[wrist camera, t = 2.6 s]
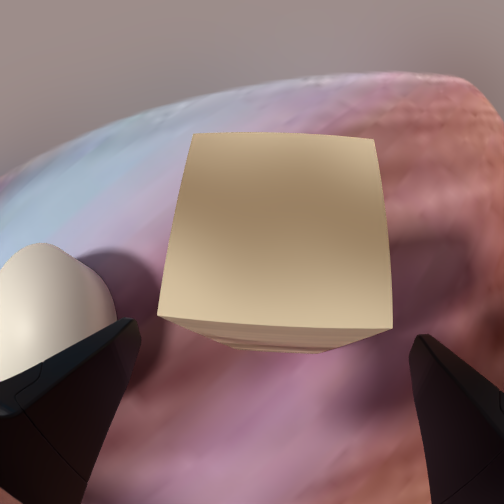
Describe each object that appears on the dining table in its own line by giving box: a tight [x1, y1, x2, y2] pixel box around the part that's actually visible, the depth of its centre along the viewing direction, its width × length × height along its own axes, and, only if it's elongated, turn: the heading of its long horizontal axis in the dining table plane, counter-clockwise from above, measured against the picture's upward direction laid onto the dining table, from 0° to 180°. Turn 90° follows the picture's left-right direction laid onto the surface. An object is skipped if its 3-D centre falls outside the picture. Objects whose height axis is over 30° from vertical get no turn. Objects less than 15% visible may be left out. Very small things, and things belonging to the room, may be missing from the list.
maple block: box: [157, 132, 393, 354], centre depth 13 cm, size 5×5×13 cm
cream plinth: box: [0, 243, 117, 381], centre depth 18 cm, size 11×11×4 cm
